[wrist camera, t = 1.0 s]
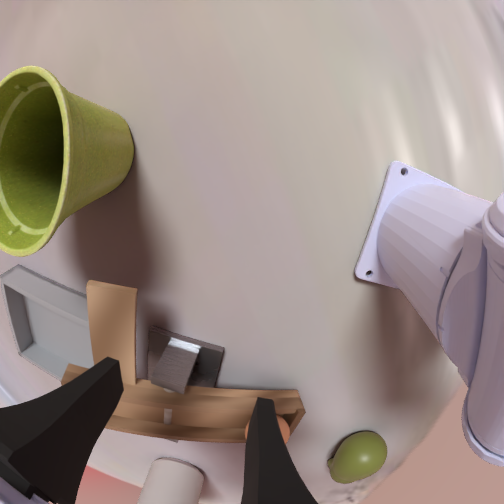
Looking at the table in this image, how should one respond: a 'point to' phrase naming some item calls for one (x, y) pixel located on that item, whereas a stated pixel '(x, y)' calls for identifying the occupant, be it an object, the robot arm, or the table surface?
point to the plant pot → (53, 157)
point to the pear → (358, 457)
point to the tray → (47, 321)
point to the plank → (160, 399)
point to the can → (171, 483)
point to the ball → (283, 428)
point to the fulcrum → (181, 361)
